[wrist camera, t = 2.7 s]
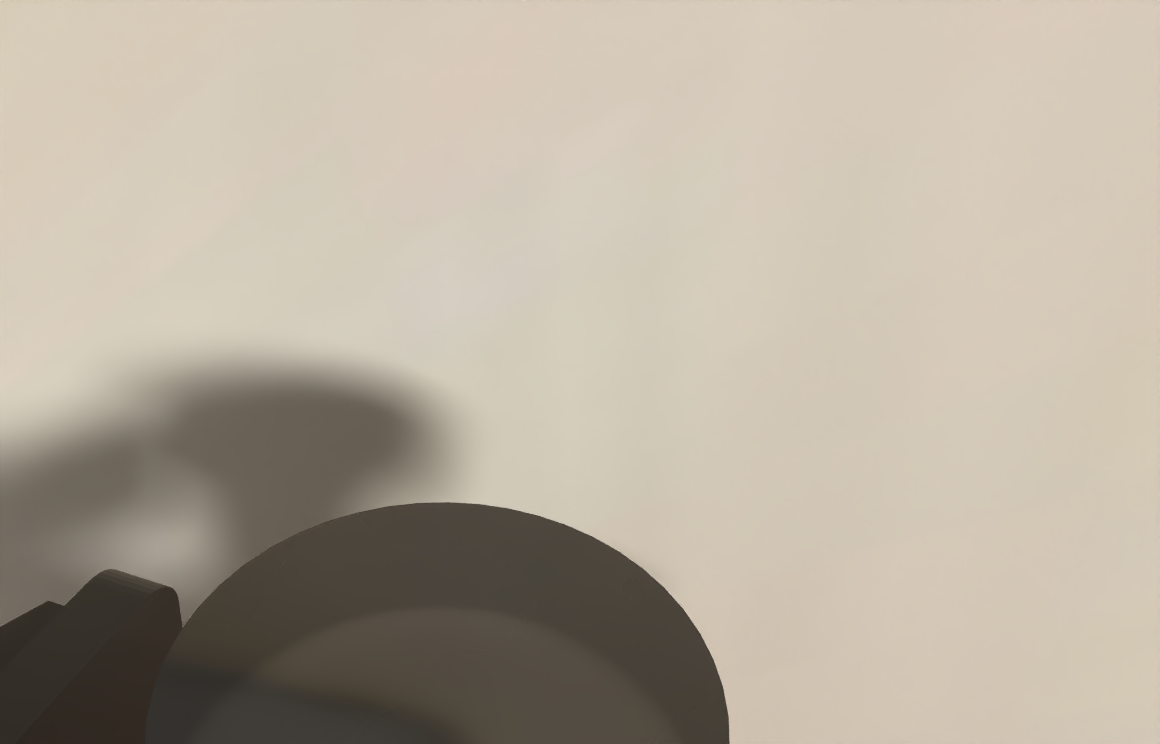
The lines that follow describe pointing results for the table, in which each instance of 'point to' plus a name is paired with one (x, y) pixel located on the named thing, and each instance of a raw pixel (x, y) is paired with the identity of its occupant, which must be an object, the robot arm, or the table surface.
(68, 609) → the robot arm
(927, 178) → the table surface
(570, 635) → the shaft
